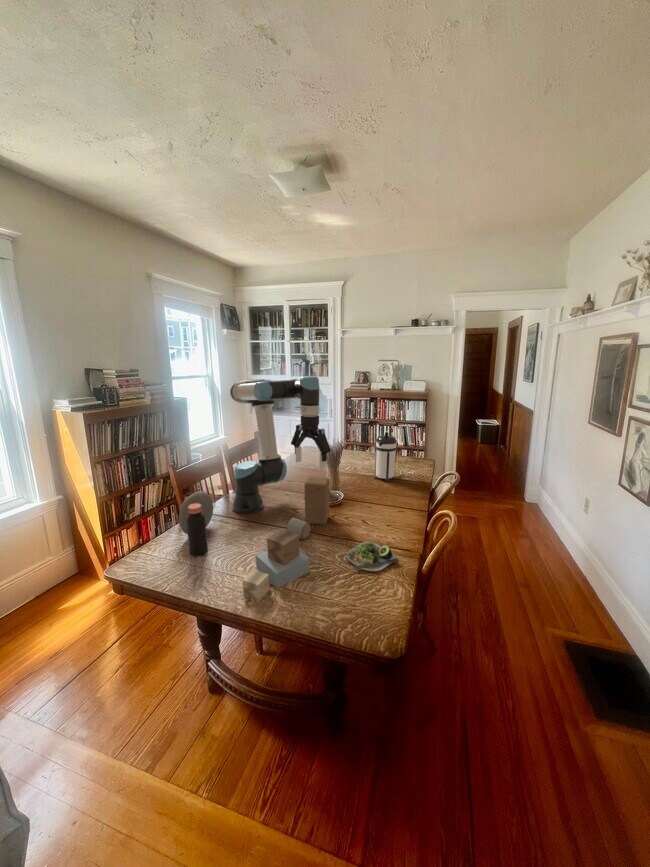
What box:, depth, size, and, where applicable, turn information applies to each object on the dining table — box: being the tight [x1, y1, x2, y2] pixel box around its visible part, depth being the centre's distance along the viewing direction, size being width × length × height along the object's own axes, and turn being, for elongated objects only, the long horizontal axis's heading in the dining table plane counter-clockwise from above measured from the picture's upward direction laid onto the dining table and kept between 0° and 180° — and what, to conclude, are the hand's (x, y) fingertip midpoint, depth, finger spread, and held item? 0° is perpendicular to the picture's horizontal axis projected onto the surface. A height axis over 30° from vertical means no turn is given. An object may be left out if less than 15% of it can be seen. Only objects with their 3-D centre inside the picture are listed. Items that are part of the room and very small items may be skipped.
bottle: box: [186, 503, 209, 558], centre depth 133 cm, size 7×7×20 cm
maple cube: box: [242, 569, 270, 602], centre depth 112 cm, size 6×6×6 cm
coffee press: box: [372, 431, 398, 483], centre depth 213 cm, size 17×16×30 cm
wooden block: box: [304, 476, 330, 526], centre depth 160 cm, size 10×10×20 cm
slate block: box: [255, 549, 311, 589], centre depth 124 cm, size 14×14×6 cm
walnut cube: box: [266, 528, 300, 566], centre depth 123 cm, size 8×8×8 cm
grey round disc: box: [178, 490, 214, 536], centre depth 148 cm, size 18×7×19 cm, turn 156°
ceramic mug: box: [286, 517, 311, 540], centre depth 148 cm, size 11×8×8 cm
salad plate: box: [346, 541, 400, 572], centre depth 130 cm, size 19×18×5 cm
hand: (310, 465), depth 143 cm, fingers open, 13 cm apart
